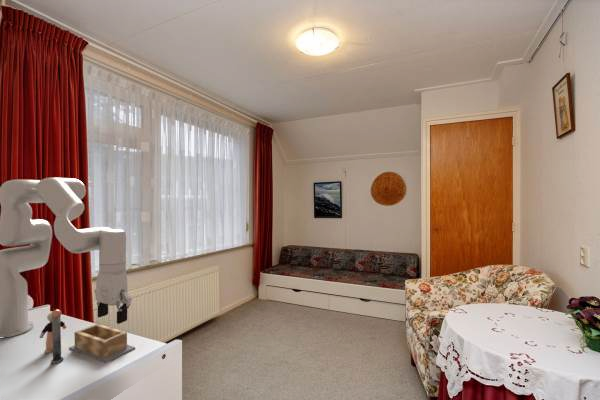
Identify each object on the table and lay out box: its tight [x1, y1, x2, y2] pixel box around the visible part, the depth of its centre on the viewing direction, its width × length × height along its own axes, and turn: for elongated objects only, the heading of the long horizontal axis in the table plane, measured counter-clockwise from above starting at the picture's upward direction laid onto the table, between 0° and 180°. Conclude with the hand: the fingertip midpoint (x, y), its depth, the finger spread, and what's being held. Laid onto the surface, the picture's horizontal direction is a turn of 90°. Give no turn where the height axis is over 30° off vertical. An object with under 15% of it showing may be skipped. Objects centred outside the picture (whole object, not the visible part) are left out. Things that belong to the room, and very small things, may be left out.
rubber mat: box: [68, 344, 136, 364], centre depth 102 cm, size 20×10×1 cm, turn 65°
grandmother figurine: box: [39, 311, 67, 354], centre depth 102 cm, size 8×4×13 cm, turn 168°
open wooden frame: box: [73, 323, 128, 358], centre depth 102 cm, size 16×8×5 cm, turn 65°
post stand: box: [50, 309, 64, 365], centre depth 94 cm, size 3×3×16 cm
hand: (112, 318), depth 99 cm, fingers open, 9 cm apart
